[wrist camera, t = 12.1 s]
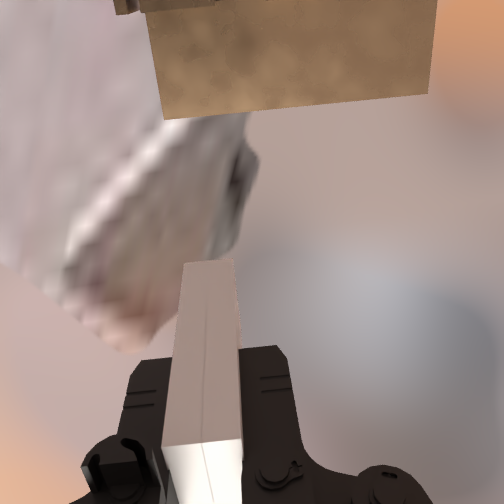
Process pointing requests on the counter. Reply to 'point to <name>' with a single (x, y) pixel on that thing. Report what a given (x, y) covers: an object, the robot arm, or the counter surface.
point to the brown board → (284, 52)
